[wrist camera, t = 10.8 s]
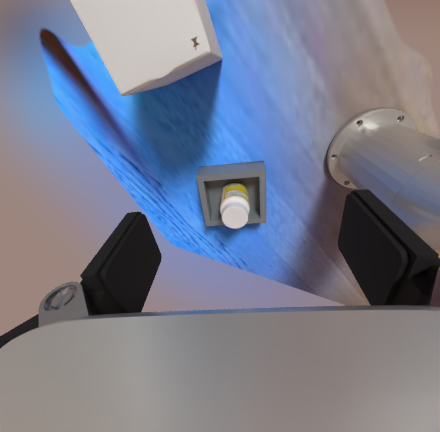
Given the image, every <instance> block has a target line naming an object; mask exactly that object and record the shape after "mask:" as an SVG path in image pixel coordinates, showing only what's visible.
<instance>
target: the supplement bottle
mask: <svg viewBox="0 0 440 432" xmlns="http://www.w3.org/2000/svg"><path fill="white" fill-rule="evenodd" d="M249 211H250V205H249V196H248V189H247V187H246V186H245V185H244V184H243V183H242V182H239V181H231V182H228V183H227V184H225V186H224V187H223V189H222V194H221V204H220V212H221V215H222V221H223V223H224V224H225V225H226V226H227V227H229V228H233V229H236V228H241V227H243V226H244V225H245V224H246V223H247V221H248V214H249Z"/></svg>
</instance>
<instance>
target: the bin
mask: <svg viewBox="0 0 440 432" xmlns="http://www.w3.org/2000/svg"><path fill="white" fill-rule="evenodd" d="M196 178H197V183H198V188H199V193H200V199H201V204H202V209H203V214H204V219H205V224H206V226H219V225H225V224H224V223H223V221H222V215H221V212H220V204H221V194H222V189H223V187H224V186H225V184H227V183H228V182H231V181H239V182H242V183H243V184H244V185H245V186H246V187H247V189H248V196H249V205H250V211H249V214H248V221H247V223H246V224H251V223H266V169H265V165H264V162H263V161H257V162H246V163H236V164H225V165H215V166H204V167H199V170H198V173H197V175H196Z"/></svg>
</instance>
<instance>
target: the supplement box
mask: <svg viewBox="0 0 440 432" xmlns="http://www.w3.org/2000/svg"><path fill="white" fill-rule="evenodd" d="M70 1H71V3H72V5H73V7H74V8H75V10H76V12H77V14H78V15H79V17H80V19H81V21H82V23H83V25H84V27H85V28H86V30H87V32H88V34H89V36H90V38H91V39H92V41H93V43H94V45H95V47H96V49H97V51H98V53H99V54H100V56H101V58H102V60H103V62H104V64H105V66H106V68H107V69H108V71H109V73H110V75H111V77H112V79H113V81H114V82H115V84H116V86H117V88H118V90H119V92H120V94H121V96H127V95H132V94H135V93H139V92H143V91H147V90H151V89H154V88H158V87H162V86H166V85H169V84H171V83H174V82H176V81H178V80H180V79H182V78H184V77H186V76H189V75H191V74H193V73H195V72H197V71H199V70H201V69H203V68H206V67H208V66H210V65H212V64H214V63H216V62H218V61H220V60H222V59H223V57H222V54H221V50H220V47H219V43H218V40H217V37H216V33H215V30H214V26H213V23H212V20H211V17H210V13H209V10H208V7H207V4H206V0H70Z"/></svg>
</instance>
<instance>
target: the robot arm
mask: <svg viewBox="0 0 440 432" xmlns="http://www.w3.org/2000/svg"><path fill="white" fill-rule="evenodd" d="M357 121H358V123H357ZM356 123H357V124H356ZM332 155H334V156H332ZM327 166H328V170H329V172H330V174H331V176H332V177H333V178H334V180H335V181H336V182H338V183H339V184H340V185H342V186H344V187H347V188H350V189H359V190H354V191H352V192H351V194H348V195H347V197H346V201H345V207H344V212H343V217H342V223H341V228H340V234H339V239H338V247H339V250H340V251H341V253H342V255H343V257H344V259H345V260H346V262H347V264H348V266H349V267H350V269H351V271H352V273H353V275H354V276H355V278H356V280H357V282H358V283H359V285H360V287H361V289H362V291H363V292H364V294H365V296H366V298H367V300H368V301H369V303H370V306H323V307H287V308H286V307H285V308H255V309H224V310H223V309H222V310H193V311H168V312H167V311H166V312H141V311H142V308H143V306H144V303H145V301H146V298H147V295H148V293H149V290H150V288H151V285H152V283H153V280H154V278H155V275H156V272H157V270H158V267H159V265H160V262H161V253H160V250H159V248H158V245H157V243H156V241H155V238H154V236H153V233H152V231H151V228H150V226H149V223H148V221H147V218H146V216H145V215H144V214H142V213H141V212H131V213H127V214H126V215H125V217H124V218H123V220H122V221H121V222H120V223H119V225H118V226H117V227H116V229H115V230H114V231H113V233H112V234H111V235H110V237H109V238H108V239H107V241H106V242H105V243H104V245H103V246H102V247H101V249H100V250H99V251H98V253H97V254H96V255H95V257H94V258H93V259H92V261H91V262H90V263H89V265H88V266H87V268H86V269H85V270H84V271H83V273H82V274H81V275H80V276H81V277H82V279H83V280H82V281H81V283H78V282H68V283H65V284H62V285H60V286H58V287H57V288H55V289H53V290H52V291H51V292H50V293H48V294H47V295H46V296H45V298H44V299H43V300H42V302H41V303H40V306H39V314H38V315H36V316H34V317H32V318H31V319H29V320H27V321H26V322H24V323H22V324H20V325H19V326H17V327H15V328H14V329H12V330H10V331H9V332H7V333H5V334H4V335H2V336H0V432H440V259H439V258H438V255H439V254H438V253H436V252H435V251H434V250H437V251H440V138H436V137H433V136H430V135H427V134H425V133H422V132H419V131H417V127H416V124H415V122H414V121H413V119H412V118H411V117H410V116H409V115H407V114H406V113H404V112H402V111H400V110H396V109H391V108H379V109H373V110H370V111H367V112H364V113H362V114H360V115H358V116H356V117H355V118H353V119H352V120H350V121H349V122H348V123H347V124H346V125H344V126H343V127H342V128H341V129H340V131H339V132H338V133H337V134H336V136H335V137H334V139H333V141H332V142H331V145H330V147H329V150H328V155H327Z"/></svg>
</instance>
